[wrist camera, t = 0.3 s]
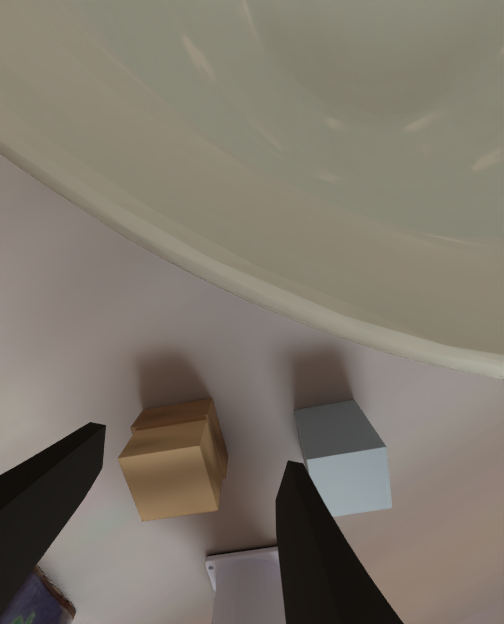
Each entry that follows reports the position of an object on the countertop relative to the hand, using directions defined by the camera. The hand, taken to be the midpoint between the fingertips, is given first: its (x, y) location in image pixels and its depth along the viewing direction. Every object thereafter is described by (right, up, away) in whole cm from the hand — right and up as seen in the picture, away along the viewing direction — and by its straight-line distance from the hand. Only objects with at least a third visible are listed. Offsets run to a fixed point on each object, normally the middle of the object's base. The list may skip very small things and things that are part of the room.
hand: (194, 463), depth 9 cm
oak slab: (-3, -5, +9) cm, 11 cm away
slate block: (+9, -4, +11) cm, 15 cm away
